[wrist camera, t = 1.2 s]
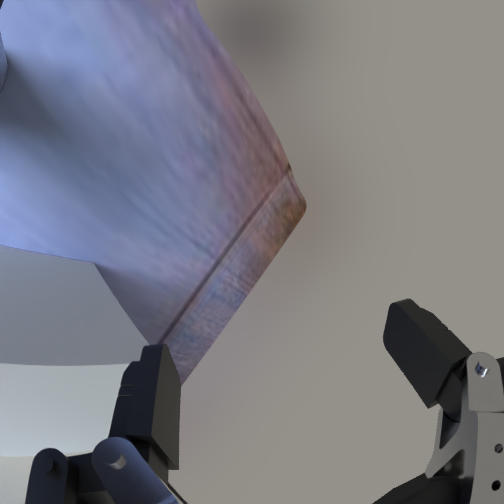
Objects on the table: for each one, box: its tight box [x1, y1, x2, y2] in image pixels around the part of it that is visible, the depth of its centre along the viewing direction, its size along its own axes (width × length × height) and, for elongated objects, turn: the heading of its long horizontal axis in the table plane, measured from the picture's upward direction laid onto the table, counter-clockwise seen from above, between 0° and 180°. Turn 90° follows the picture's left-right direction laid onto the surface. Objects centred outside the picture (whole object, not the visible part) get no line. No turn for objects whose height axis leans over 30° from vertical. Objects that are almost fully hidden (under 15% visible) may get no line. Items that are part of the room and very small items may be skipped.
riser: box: [0, 245, 149, 504], centre depth 22 cm, size 20×28×32 cm
